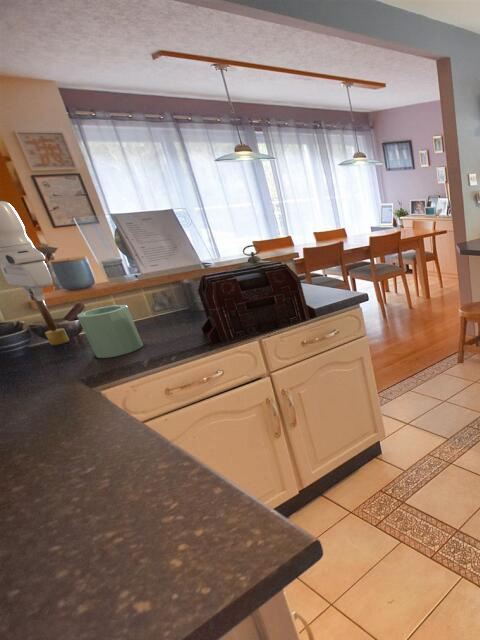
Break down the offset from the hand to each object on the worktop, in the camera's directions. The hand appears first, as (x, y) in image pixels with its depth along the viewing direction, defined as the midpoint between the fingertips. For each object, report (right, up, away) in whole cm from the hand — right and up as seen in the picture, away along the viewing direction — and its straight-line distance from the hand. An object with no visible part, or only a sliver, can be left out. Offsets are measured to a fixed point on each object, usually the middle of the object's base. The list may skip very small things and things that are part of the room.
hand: (38, 300), depth 133 cm
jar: (+14, -16, +12) cm, 24 cm away
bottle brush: (+1, -13, +5) cm, 14 cm away
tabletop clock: (+38, +4, +56) cm, 68 cm away
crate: (+53, -7, +27) cm, 60 cm away
